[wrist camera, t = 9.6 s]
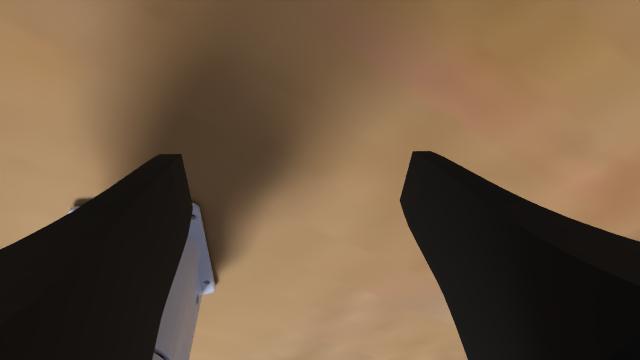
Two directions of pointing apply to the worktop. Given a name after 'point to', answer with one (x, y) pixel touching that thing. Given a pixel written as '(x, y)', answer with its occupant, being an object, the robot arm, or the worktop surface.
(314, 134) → the worktop surface
